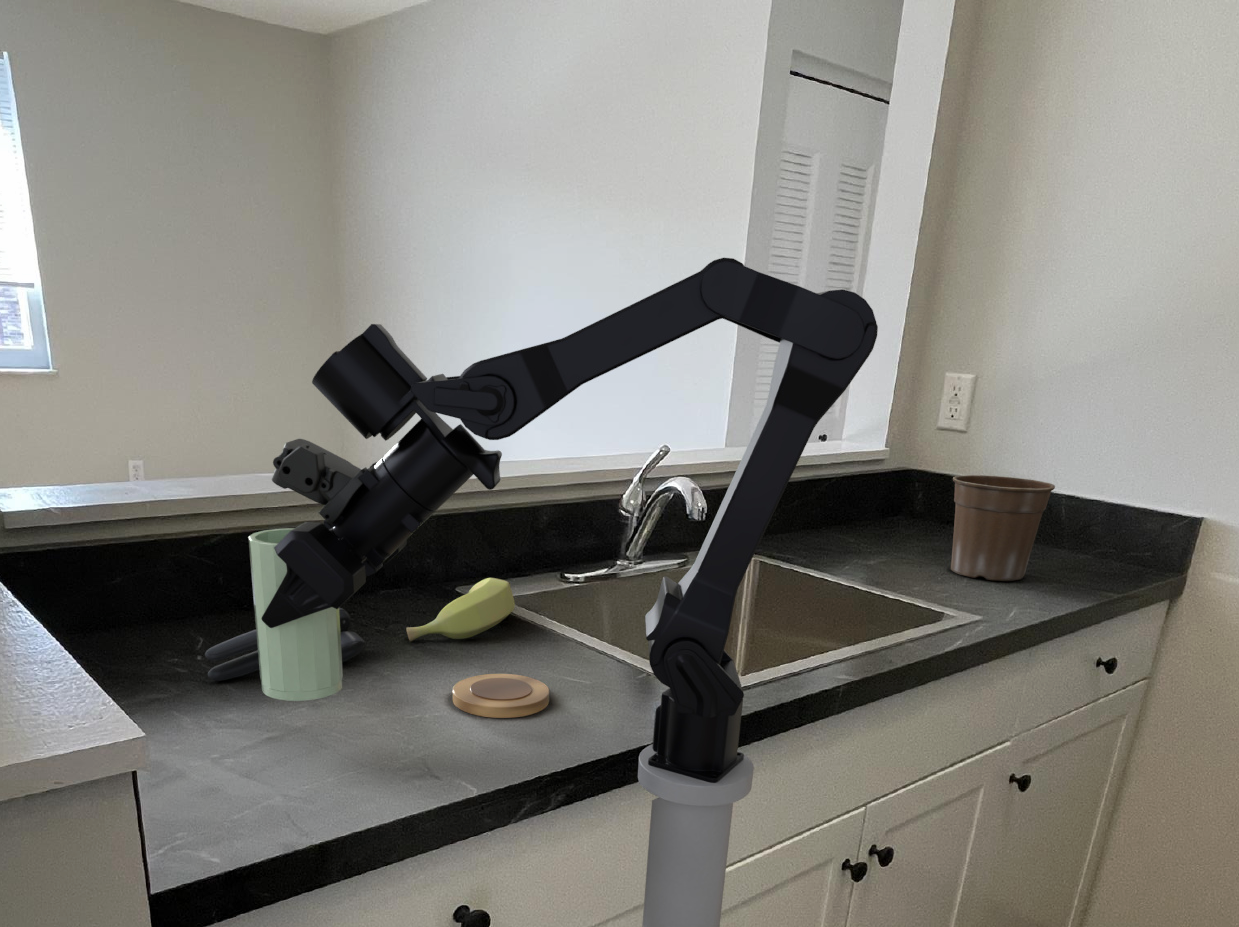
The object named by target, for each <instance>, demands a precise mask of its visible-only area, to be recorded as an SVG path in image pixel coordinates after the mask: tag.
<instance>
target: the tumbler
mask: <svg viewBox="0 0 1239 927" xmlns="http://www.w3.org/2000/svg"><path fill="white" fill-rule="evenodd" d="M295 528H296V527H290V528H288V527H287V528H274V529H265V530H260V531H258V532H257V531H256V532H253V533H252V534H250V535H249V536H248V537H247V538H248V548H249V550H248V551H249V560H250V573H251V583H252V584H251V585H252V596H253V597H252V598H253V609H254V621H255V628H256V629H255V630H256V633H257V644H258V649H257V651H258V656H259V668H260V670H259V678H260V682H261V684H260V685H261V692H262V693H263V694H264V695H265V696H267V697H269V698H271V699H274V700H280V701H288V702H304V701H313V700H318V699H324V698H327V697H330V696H333V695H335V694H337V693H338V692H340V691H341V690H342V688H343V675H344V673H343V672H344V671H343V662H342V653H341V634H340V615H339V608H340V607H339V608H338V609H335V608H333V607H331V608H328V609H325V610H322V611H319V612H316V613H313V614H310V615H307V616H304V617H301V618H299V619H296V620H293V621H290V622H288V623H285V624H282V625H279V626H277V627H274V628H269V627H268V626H267V625H266V624H265V623H264V622H263V621H262V619H261V618H262V616H263V614H264V613H265V611H266V609H267V607H268V606H269V604H270V602H271V600H272V599H273V597H274V595H275V593H276V592H277V590H278V588H279V586H280V585H281V583H282V581H283V579H284V577H285V575H286V573H287V567H286V563H285V562H284V561H283V560H282V559H281V558H280V557H279V556H278V555H277V554H276V551H275V549H274V547H275V546H276V545H277V544H278V543H279V542H280V541H281V540H282V539H283V538H284V537H285V536H286V535H287V534H288V533H289V532H290V531H291V530H293V529H295Z"/></svg>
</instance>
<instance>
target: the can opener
mask: <svg viewBox="0 0 1239 927" xmlns="http://www.w3.org/2000/svg"><path fill="white" fill-rule="evenodd" d="M339 615H340V634H341V653H342V663H344V662H346V661H350V660H351V659H353V658H354V657H356V656H358V655H359V654H360V653H362V652H363V651H364V650H365V648H366V646H367V645H366V641H365V640H364V639H363V638H362V637H361V636H360V635H359V634H358V633H357V632H354V631H351V630H350V627H351V623H352V621H351V620H352V619H351V616H350V614H349V613H348V611H347V610H346V609H344V608H341V607H339ZM252 651H253V652H252ZM249 652H250V653H249ZM241 654H244V655H242V656H241ZM238 655H240V656H238ZM204 656H205V659H207V660H208V661H212V662H219V661H223V660H226V659H229V658H233V657H235V658H233V659H231V660H227V661H226V662H223V663H220V664H218V665H215V666H213V667H212V668H210V670H209V671H208V672H207V677H208V678H209V679H210V680H213V681H216V682H221V681H227V680H231V679H236V678H240V677H243V676H245V675H248V674H252V673H254V672H257V671H260V668H259V656H258V644H257V633H256V629H253V630H250V631H248V632H246V633H242V634H239V635H237V636H234V637H233V638H230V639H227V640H225V641H223V642H220V643H218V644H216V645H214V646H211V647H210V648H208V649H207V650H206V651H205V652H204ZM236 656H238V657H236Z"/></svg>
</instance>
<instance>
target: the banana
mask: <svg viewBox="0 0 1239 927" xmlns="http://www.w3.org/2000/svg"><path fill="white" fill-rule="evenodd" d="M515 606H516V604H515V598H514V594H513V591H512V586H511V585H510V583H509V581H507V580H504V579H500V578H495V577H486V578H484V579H482V580H480V581H478V582H476V583H475V584H473V586H472V587H471V588H470V589H469V591H468V592H467V593H465V594H463V595H461V596H460V597H457V598H456V599H453V600H452V601H451V602H449V603H447V604H446V605H445V606H444V607H443V608H442V609H441V610H440V611H439V613H438V614H437V616H436V618H435V619H434V620H432V621H430V622H428V623H427V624H424V625H421V626H414V627H411V626H410V627H409V626H407V627H406V633H407V637H408V640H409V642H413V641H414V640H415V641H416V639H418V638H420V637H423V636H426V635H433V634H434V635H435V634H437V635H442V636H443V637H445V638H449V639H451V640H452V639H453V640H465V639H469V638H472V637H475V636H477V635H479V634H481V633H483V632H485V631H488V630H489V629H492V628H493V627H496V626H497V625H499V623H501V622H502V621H503V620H505V619H506V618H507V617H508V616H509V615H510V614H512V612H513V611H514V610H515Z"/></svg>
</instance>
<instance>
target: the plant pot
mask: <svg viewBox="0 0 1239 927" xmlns="http://www.w3.org/2000/svg"><path fill="white" fill-rule="evenodd" d="M952 481H953V483H954V493H953V494H954V496H953V502H954V503H955V509H954V520H953V521H954V522H953V523H954V524H953V525H954V526H953V536H952V550H951V561H950V570H951V571H952V572H954V573H955V574H957V575H960V576H963V577H967V578H968V577H969V578H972V579H977V578H979V577H981V578H985V580H987V581H997V582H998V581H999V582H1013V581H1019V580H1022V579H1023V578H1024V577H1025V575H1026V571H1027V568H1028V564H1029V561H1030V558H1031V554H1032V550H1033V547H1034V543H1035V540H1036V536H1037V533H1038V530H1039V527H1040V523H1041V519H1042V516H1043V514H1044V511H1045V510H1046V509H1047V506H1048V503H1049V500H1050V497H1051V494H1052V491H1054V490H1055V488H1056V485H1055V484H1052V483H1050V482H1045V481H1042V480H1035V479H1029V478H1021V477H1011V476H1001V475H1000V476H999V475H983V474H981V475H980V474H977V475H976V474H968V475H967V474H966V475H955V476H953V477H952Z"/></svg>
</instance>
